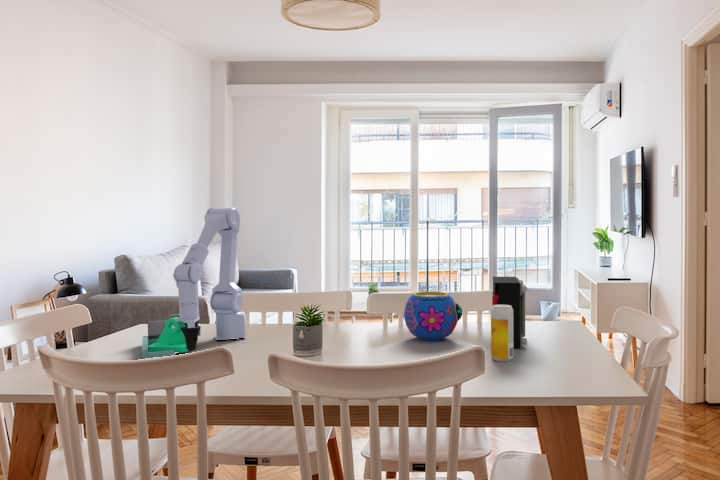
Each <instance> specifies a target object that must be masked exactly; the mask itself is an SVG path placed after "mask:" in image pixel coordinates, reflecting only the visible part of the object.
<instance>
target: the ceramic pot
mask: <svg viewBox="0 0 720 480" xmlns="http://www.w3.org/2000/svg"><path fill="white" fill-rule="evenodd" d="M462 315H463V308H462V307H461V305H460V304H459V303H456V301H455V300H454V299H453V297H452V296H451V295H450V294H449V293H447V292H443V291H419V292H415V293H413V294H411V295H410V297H409V298H408V299H407V301H406V303H405V306H404V311H403V317H404V318H403V319H404V322H405V326H406V327H407V330H408V331H409V333H410V334H411V335H412V336H413V337H414V336H415V337H416V338H418V339H420V340H425V341H428V342H429V341H431V342H433V341H440V340H443V339H446V338H447V337H448V336H450V335H451V334H453V332H454V331H455V328H456V326H457V325H458V322H459V321H460V319H461V318H462Z"/></svg>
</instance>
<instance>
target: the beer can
mask: <svg viewBox="0 0 720 480" xmlns="http://www.w3.org/2000/svg"><path fill="white" fill-rule="evenodd" d="M490 356H491V358H492V359H493V360H494V361H496V362H511V361H512V360H513V358H514V349H513V308H512V306H511V305H503V304H499V305H493V306H492V305H491V308H490Z"/></svg>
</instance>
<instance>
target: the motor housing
mask: <svg viewBox="0 0 720 480" xmlns="http://www.w3.org/2000/svg"><path fill="white" fill-rule="evenodd" d="M174 317H179V313H171V314H170V319H171V318H174ZM179 318H180V317H179ZM167 320H168V319H162V320H160V319H159V320H148V321H147V336H148V339H158V338H159V337H160V335H161V333H162V332H163V330H164V328H165V323H166V321H167ZM173 325H174V327H175V324H174V323H173ZM196 327H201V324H200V323H198V324H197V326H196ZM200 336H201V330H200V331H199V333H198V336H197V341H198V339H199V337H200Z"/></svg>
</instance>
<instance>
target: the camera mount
mask: <svg viewBox="0 0 720 480" xmlns="http://www.w3.org/2000/svg"><path fill="white" fill-rule="evenodd" d="M176 318H179V317H174V318H171V317H170V318H169V319H166V320H167V321H166V323H165V328H164V330H163V332H162V333H161V335H160V337H159V338H158V340H157V342H156V343H154V344H152V345H149V346H148V352H158V351H169V350H174V353H175V352H180V353H187V352H189V351H188V349H187V345H186V340H185V336H184V334H183V332H182V330H181V327H186V326H185V324H184V322H181V321H176ZM173 323H174V324H175V327H174V325H173Z"/></svg>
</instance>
